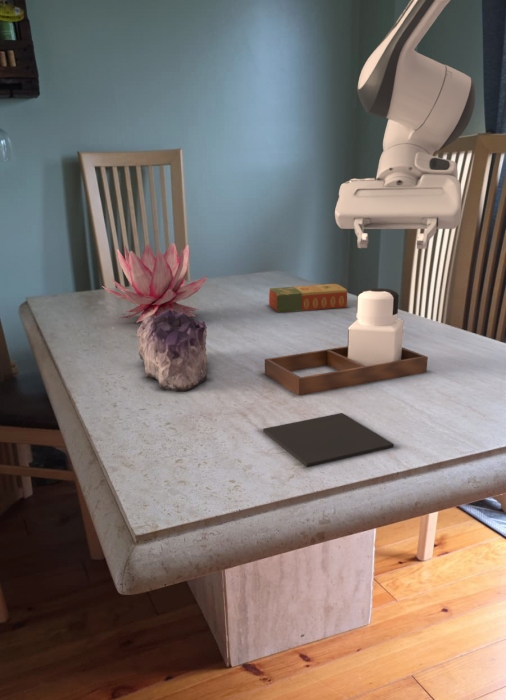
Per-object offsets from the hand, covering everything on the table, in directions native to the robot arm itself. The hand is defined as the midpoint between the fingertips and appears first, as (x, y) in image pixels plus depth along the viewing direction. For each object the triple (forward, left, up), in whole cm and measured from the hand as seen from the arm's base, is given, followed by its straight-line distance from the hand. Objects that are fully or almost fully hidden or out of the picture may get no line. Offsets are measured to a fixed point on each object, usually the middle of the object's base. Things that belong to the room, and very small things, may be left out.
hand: (391, 246), depth 100 cm
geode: (+36, -5, -17) cm, 40 cm away
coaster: (+29, +29, -17) cm, 44 cm away
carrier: (+13, +9, -17) cm, 23 cm away
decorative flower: (+28, -43, -17) cm, 54 cm away
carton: (-5, -38, -17) cm, 42 cm away
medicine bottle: (+8, +9, -17) cm, 21 cm away
